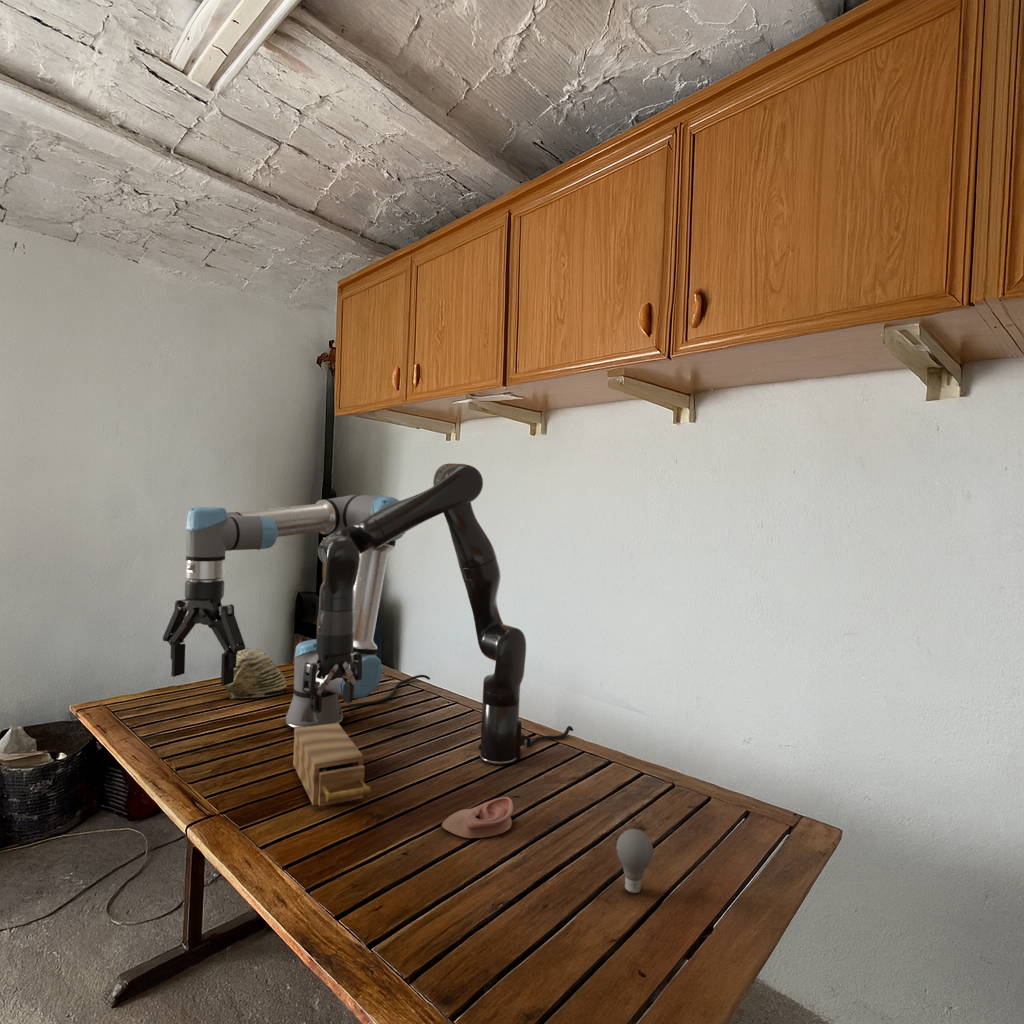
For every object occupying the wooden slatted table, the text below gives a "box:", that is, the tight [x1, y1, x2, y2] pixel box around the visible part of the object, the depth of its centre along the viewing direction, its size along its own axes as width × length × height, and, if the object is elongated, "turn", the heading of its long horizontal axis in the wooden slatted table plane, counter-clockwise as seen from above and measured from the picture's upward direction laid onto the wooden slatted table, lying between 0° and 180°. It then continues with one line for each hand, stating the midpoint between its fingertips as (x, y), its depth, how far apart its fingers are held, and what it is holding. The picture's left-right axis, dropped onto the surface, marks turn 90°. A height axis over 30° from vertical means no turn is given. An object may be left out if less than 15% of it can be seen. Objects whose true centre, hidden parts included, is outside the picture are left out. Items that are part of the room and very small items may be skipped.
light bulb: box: [615, 828, 654, 894], centre depth 106 cm, size 6×6×10 cm
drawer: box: [318, 762, 371, 807], centre depth 136 cm, size 26×9×7 cm, turn 29°
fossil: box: [223, 646, 288, 699], centre depth 198 cm, size 9×18×15 cm, turn 132°
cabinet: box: [292, 723, 364, 806], centre depth 142 cm, size 22×10×9 cm, turn 29°
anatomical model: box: [441, 796, 514, 839], centre depth 125 cm, size 13×4×12 cm
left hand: (202, 679), depth 135 cm, fingers open, 13 cm apart
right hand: (332, 706), depth 133 cm, fingers open, 8 cm apart
